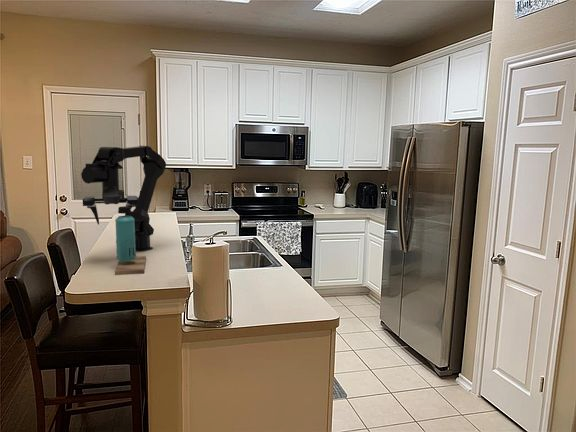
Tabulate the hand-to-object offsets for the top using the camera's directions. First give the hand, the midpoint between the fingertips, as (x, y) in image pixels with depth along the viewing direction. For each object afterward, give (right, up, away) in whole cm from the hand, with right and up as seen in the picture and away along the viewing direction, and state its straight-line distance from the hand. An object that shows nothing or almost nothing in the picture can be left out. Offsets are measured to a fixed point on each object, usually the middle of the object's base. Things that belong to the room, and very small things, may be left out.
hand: (112, 223), depth 156 cm
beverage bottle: (+9, -14, -8) cm, 18 cm away
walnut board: (+10, -15, -8) cm, 20 cm away
